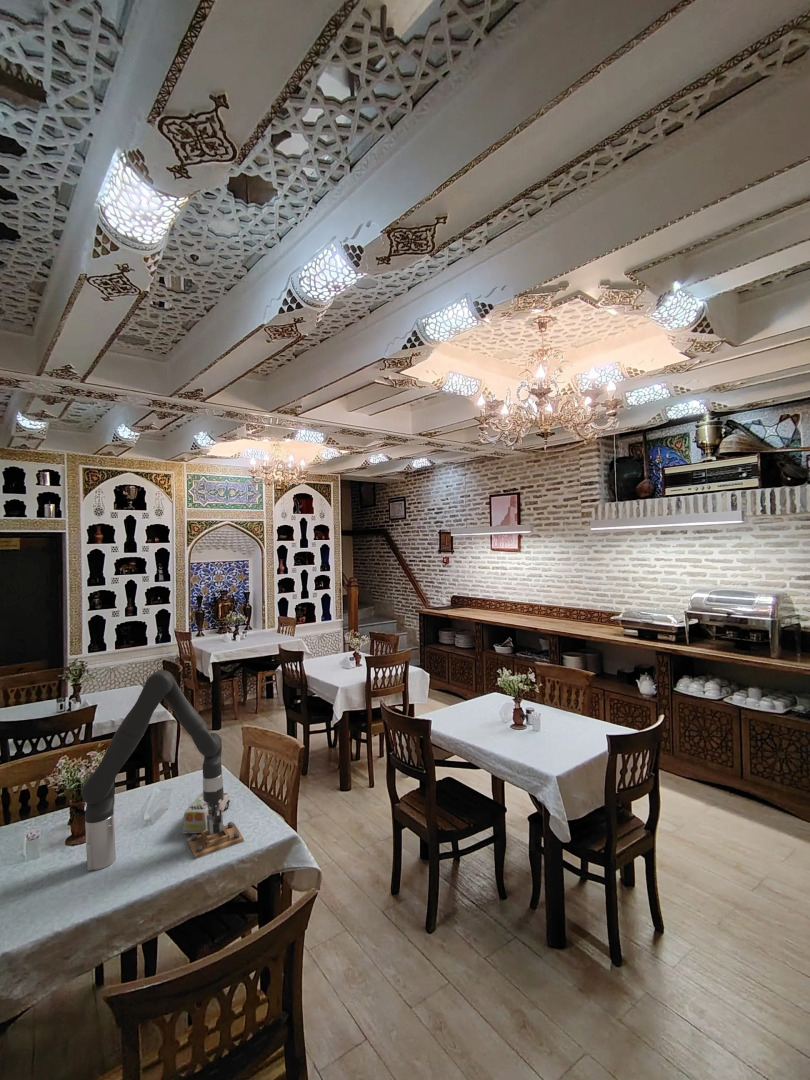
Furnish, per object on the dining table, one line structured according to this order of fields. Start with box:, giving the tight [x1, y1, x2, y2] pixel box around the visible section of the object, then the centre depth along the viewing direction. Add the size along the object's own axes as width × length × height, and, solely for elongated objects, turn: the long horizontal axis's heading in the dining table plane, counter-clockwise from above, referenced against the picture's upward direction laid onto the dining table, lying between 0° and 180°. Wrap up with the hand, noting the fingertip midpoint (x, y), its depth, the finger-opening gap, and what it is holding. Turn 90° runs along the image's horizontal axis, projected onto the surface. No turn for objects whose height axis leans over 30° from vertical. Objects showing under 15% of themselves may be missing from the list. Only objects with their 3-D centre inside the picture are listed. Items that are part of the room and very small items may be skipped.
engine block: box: [207, 813, 224, 835], centre depth 201 cm, size 5×4×7 cm
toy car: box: [181, 792, 231, 834], centre depth 217 cm, size 11×25×10 cm, turn 177°
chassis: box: [187, 821, 245, 860], centre depth 201 cm, size 18×14×3 cm
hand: (215, 829), depth 201 cm, fingers closed on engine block, 4 cm apart
